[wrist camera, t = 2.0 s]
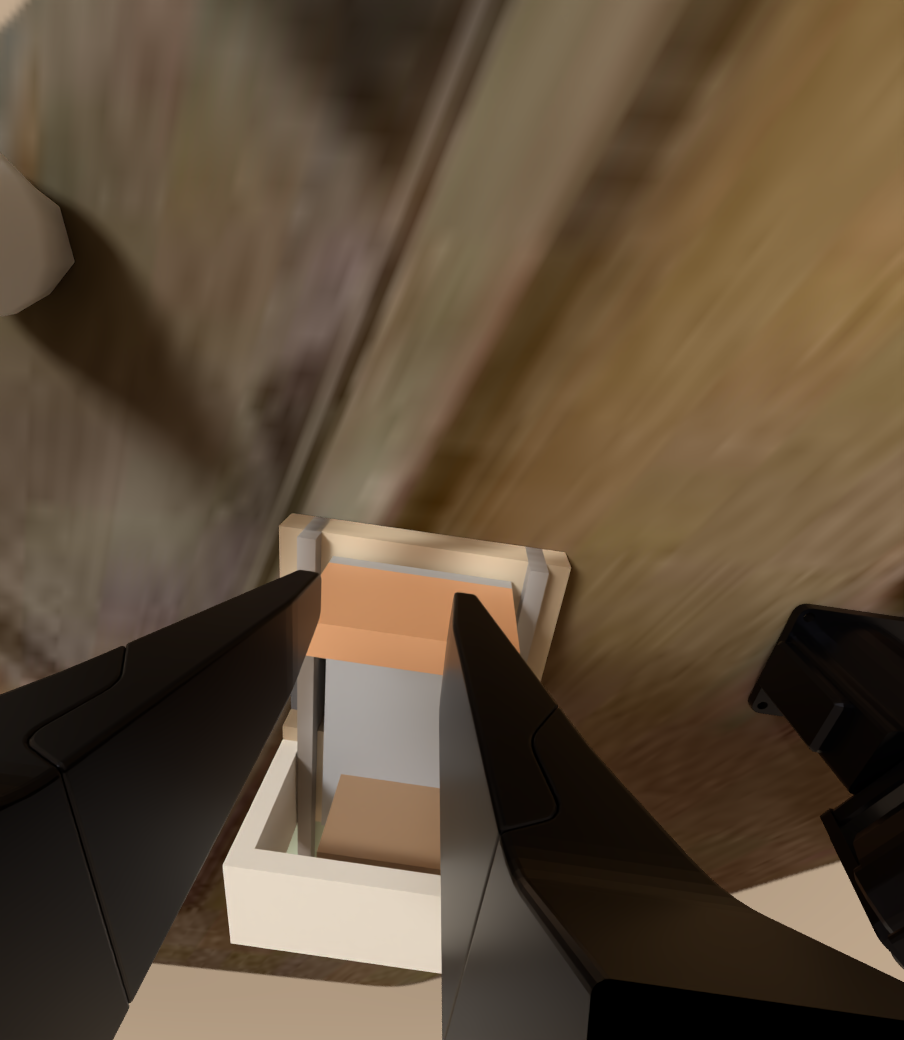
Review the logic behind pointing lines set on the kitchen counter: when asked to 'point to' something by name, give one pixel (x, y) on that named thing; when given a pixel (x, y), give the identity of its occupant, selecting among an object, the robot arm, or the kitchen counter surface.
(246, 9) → the kitchen counter surface
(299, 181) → the kitchen counter surface
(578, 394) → the kitchen counter surface
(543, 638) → the track deck
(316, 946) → the tunnel
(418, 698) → the sled
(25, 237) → the salt shaker
